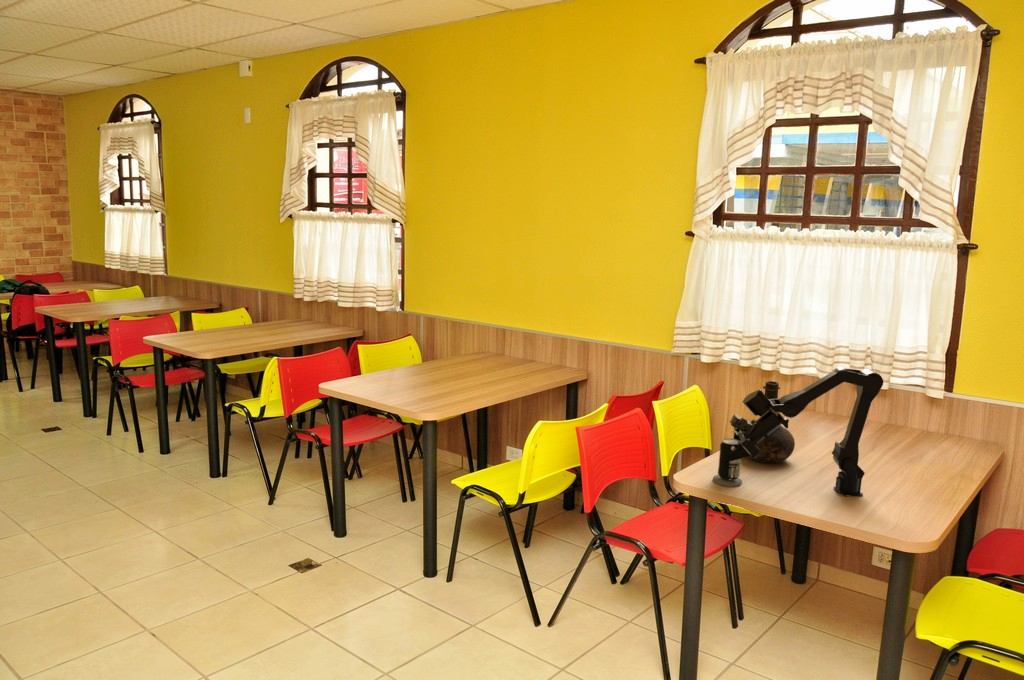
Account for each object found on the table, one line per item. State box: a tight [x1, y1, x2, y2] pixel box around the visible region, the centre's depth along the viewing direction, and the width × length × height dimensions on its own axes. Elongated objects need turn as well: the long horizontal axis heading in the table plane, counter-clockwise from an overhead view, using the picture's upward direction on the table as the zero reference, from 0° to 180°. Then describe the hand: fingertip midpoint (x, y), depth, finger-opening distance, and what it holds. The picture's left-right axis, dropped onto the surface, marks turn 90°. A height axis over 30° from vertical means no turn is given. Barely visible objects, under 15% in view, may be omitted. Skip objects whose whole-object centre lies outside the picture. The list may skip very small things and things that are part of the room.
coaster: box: [712, 474, 743, 487], centre depth 247 cm, size 9×9×1 cm
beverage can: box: [717, 438, 742, 480], centre depth 246 cm, size 7×7×12 cm
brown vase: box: [750, 380, 796, 464], centre depth 270 cm, size 18×18×28 cm
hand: (725, 457), depth 246 cm, fingers closed on beverage can, 7 cm apart
